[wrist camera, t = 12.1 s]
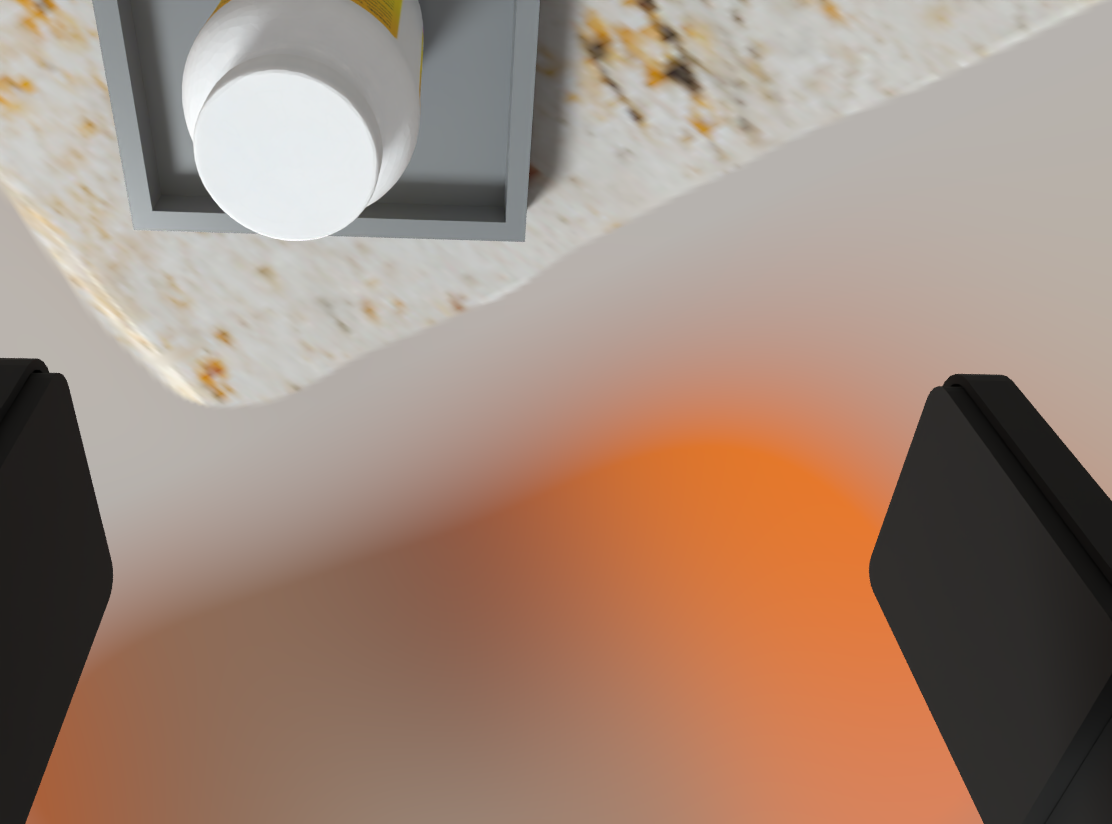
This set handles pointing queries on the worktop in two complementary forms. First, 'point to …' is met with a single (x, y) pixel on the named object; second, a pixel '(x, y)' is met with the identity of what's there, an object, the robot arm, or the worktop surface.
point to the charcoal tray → (443, 138)
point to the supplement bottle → (303, 109)
